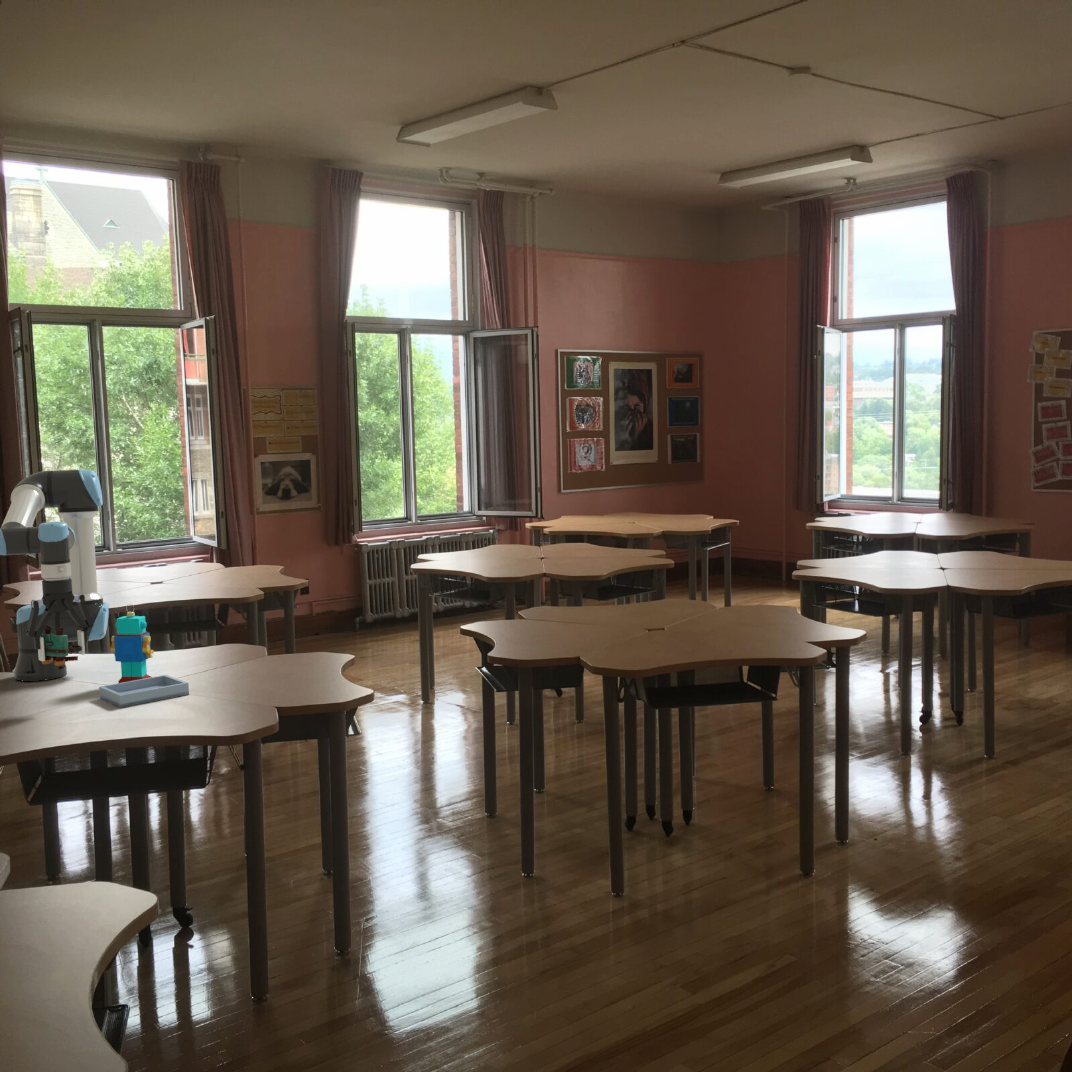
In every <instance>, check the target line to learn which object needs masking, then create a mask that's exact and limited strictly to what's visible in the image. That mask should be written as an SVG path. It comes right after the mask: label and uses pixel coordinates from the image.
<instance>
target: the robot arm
mask: <svg viewBox="0 0 1072 1072" xmlns="http://www.w3.org/2000/svg"><path fill="white" fill-rule="evenodd" d="M101 487H102V486H101V483H100V480H99V477H98V475H97V473H96V471H94V470H92V469H80V468H79V469H66V470H65V469H64V470H63V469H62V470H43V471H42V470H41V471H38V472H35V473H32V474H31V475H28V476H26V477H25V478H23V479H22V480H20V481H19V482H18V483H17V484H16V485H15V486H14V488H13V490H12V492H11V494H10V502H11V503H10V506H9V507H8V511H7V513H6V515H5V518H4V519H3V523H2V524H1V527H0V556H13V555H29V554H30V555H31V554H39V556H40V574H41V576H40V577H41V578H42V579H43V580H41V587H42V589H41V590H42V598H41V599H36V600H35V599H32V600H31V601H30V604H27V605H24V606H22V607H19V609H18V610H17V611H16V622H15V624H16V631H17V645H18V657H17V661H16V664H15V668H14V672H13V675H14V676H13V677H14V678H15V679H17V680H21V681H20V682H23V681H33V682H40V681H39V680H44V681H46V680H45V679H51V680H54V679H55V678H56V679H59V677H60V678H63V677H65V676H66V675H68V670H67V665H66V663H65V664H63V665H59V666H56V665H54V661H55V660H53V662H51V663H49V664H42V661H45V653H44V639H43V637H42V634H44V633H45V630H44V628H45V626H46V625H47V626H51V627H52V630H51V633H52V634H55V635H56V634H57V631H56V628H60V627H64V631H63V635H67V637H68V643H70V642H77V646H82V651H78V654H80V655H82V656H85V655H86V649H85V643H86V642H91V641H96V640H102V639H103V638H104V637H105V636H106V633H107V629H108V623H109V612H110V610H109V603H108V602H106V601H105V602H104V597H103V596H102V595H101V594H100V593H99V592H98V582H97V581H98V580H97V578H98V575H97V562H96V544H95V529H94V528H95V527H94V526H95V525H94V517H95V516H96V515H97V514H98V513H99V507H102V506H103V504H104V503H103V502H104V500H103V494H102V493H103V492H102V488H101ZM48 508H51V509H54V508H55V509H56V508H57V509H58V510H57V511H58V512H57V513H58V515H59V516H60V517H61V518H63V521H49V522H47V521H46V522H42V523H40V524H39V525H38V526H33V525H34V523H35V520H36V518H37V514H38V512H39V511H41V510H42V509H48ZM52 657H53V656H51V658H52ZM15 679H14V680H15ZM56 679H55V680H56ZM17 680H16V681H17ZM22 680H23V681H22Z"/></svg>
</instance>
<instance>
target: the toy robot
mask: <svg viewBox="0 0 1072 1072" xmlns="http://www.w3.org/2000/svg"><path fill="white" fill-rule="evenodd" d="M129 605H132V606H133V604H132V603H128V604H127V605H126V606H125V609H126V611H127V612H126V615H125V616H120V617H118V618H116V622H115V625H114V626H115V628H116V630H117V631H116V632H117V634H115V635H112V636H111V639H110V640H111V646H110V652H111V653H113V655H114V659H115V660H114V661H115V662H118V663H119V662H120V669H121V671H120V672H121V677H120V678H119V680H118V683H123V682H128V681H134V680H140V679H145V678H151V677H152V676H151V675H148V673H147V672H148V670H147V660H148V659H153V658H154V656H153V654H155V651H154V649H151V640H152V639H151V638H152V637H151V635H150V633H151V632H149V631H147V630H146V628H147V626H148V624H147V622H146V616H145V615H141V616H139V615H136V614H135V609H133V611H128V609H127V608H128V606H129Z"/></svg>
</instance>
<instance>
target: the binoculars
mask: <svg viewBox="0 0 1072 1072" xmlns="http://www.w3.org/2000/svg"><path fill="white" fill-rule="evenodd" d="M44 630H45V633H44V634H42V637H43V639H44V653H45V661H42V664H49V663H51V662H53V660H55V661H54V665H56V666H59V665H63V664H65V665H66V662H73V661H78V660H79V656H78V655H76V656H75V655H74V656H69V655H72V654H73V653H75V652H79V651H82V646H78V644H75V645H73V644H69V642H68V637H67V635H63V631H64V627H60V628H56V631H57V634H56V635H55V634H52V633H51V630H52V627H51V626H47V625H46V626H45V628H44ZM51 656H53V657H52V658H51Z"/></svg>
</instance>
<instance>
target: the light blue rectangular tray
mask: <svg viewBox="0 0 1072 1072" xmlns="http://www.w3.org/2000/svg"><path fill="white" fill-rule="evenodd" d="M189 687H190V685H189V682H187V681H184V680H182V679H179V678H176V677H173V676H170V675H168V674H162V675H158V676H151V678H145V679H140V680H134V681H128V682H123V683H114V684H106V685H102V686H101V685H100V686H98V690H99V699H100V700H102V701H104V702H106V703H109V704H111V705H114V706H116V707H118V708H120V709H123V708H127V707H133V706H132V705H134V706H138V705H143V704H142V703H144V704H147V703H153V702H152V701H154V702H159V701H163V700H162V699H164V700H168V699H173V698H172V697H174V698H178V696H180V697H183V695H185V696H188V695H190V690H189V689H190V688H189Z"/></svg>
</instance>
